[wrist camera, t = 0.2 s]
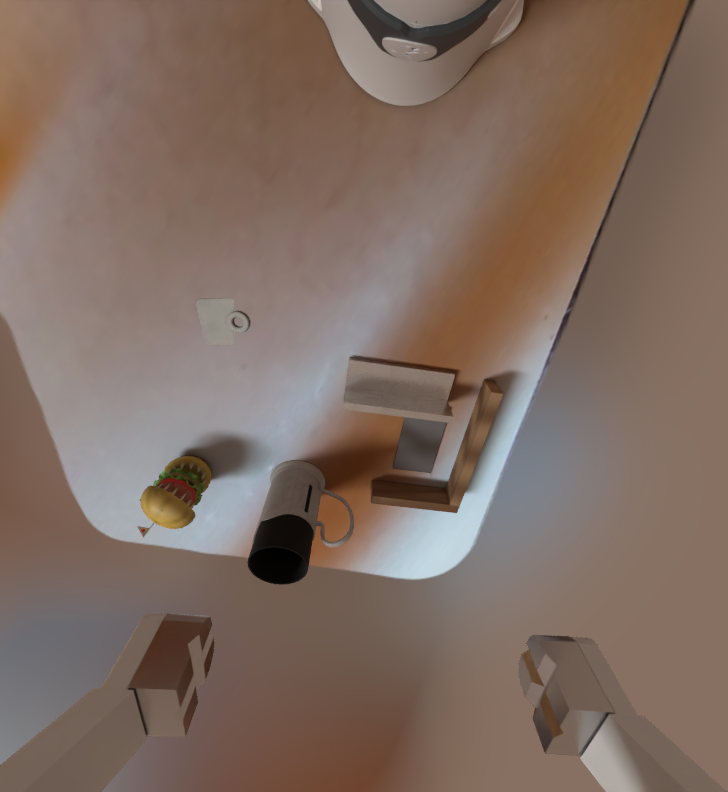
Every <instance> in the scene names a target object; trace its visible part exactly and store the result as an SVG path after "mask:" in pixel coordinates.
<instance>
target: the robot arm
mask: <svg viewBox="0 0 728 792" xmlns="http://www.w3.org/2000/svg"><path fill="white" fill-rule="evenodd" d="M307 1H308V2H309V3H310V4H311V6H312V7H313V8H314V9H315V10H316V12H317V13H318V14H319V15H320V16H321V17H322V18H323V20H324V21H325V23H326V25H327V28H328V30H329V32H330V35H331V38H332V40H333V43H334V46H335V48H336V51H337V53H338V55H339V57H340V59H341V61H342V63H343V65H344V66H345V68H346V70H347V71H348V72H349V74H350V75H351V77H352V78H353V79H354V80H355V81H356V82H357V83H358V85H359V86H361V87H362V88H363V89H364V90H365V91H366V92H368V93H369V94H371V95H372V96H374V97H375V98H377V99H379V100H381V101H384V102H387V103H390V104H394V105H400V106H412V105H419V104H423V103H426V102H429V101H431V100H434V99H436V98H438V97H440V96H441V95H443V94H444V93H446V92H447V91H449V90H450V89H451V88H452V87H454V86H455V85H456V84H457V83H458V82H459V81H460V80H461V79H462V78H463V77H464V76H465V74H466V73H467V72H468V71H469V69H470V68H471V67H472V66H473V64H474V63H475V62H476V60H477V59H478V58H479V57H480V56H481V55H482V54H483V53H484V52H485V51H487V50H489V49H490V48H492V47H494V46H496V45H497V44H499V43H501V42H502V41H504V40H505V39H507V38H508V37H509V36H510V35H511V34H512V33H513V32H514V31H515V29H516V28H517V26H518V24H519V22H520V20H521V17H522V12H523V5H524V0H307ZM211 627H212V621H211V617H210V616H195V615H179V614H169V613H152V612H148V613H146V614H145V615H144V617H143V618H142V619H141V620H140V621H139V624H138V625H137V627H136V629H135V630H134V632H133V634H132V635H131V637H130V639H129V641H128V642H127V644H126V646H125V647H124V649H123V651H122V653H121V654H120V656H119V658H118V660H117V661H116V663H115V665H114V666H113V668H112V670H111V672H110V674H109V675H108V677H107V679H106V680H105V682H104V684H103V685H102V687H101V688H93V689H92V690H91V691H90V692H88V693H87V694H86V695H85V696H84V697H82V698H81V699H80V700H79V701H78V702H76V703H75V704H74V705H73V706H72V707H70V708H69V709H68V710H67V711H65V712H64V713H63V714H62V715H61V716H59V717H58V718H57V719H56V720H54V721H53V722H52V723H51V724H50V725H49V726H47V727H46V728H45V729H44V730H42V731H41V732H40V733H39V734H37V735H36V736H35V737H34V738H33V739H31V740H30V741H29V742H28V743H27V744H25V745H24V746H23V747H22V748H20V749H19V750H18V751H17V752H16V753H14V754H13V755H12V756H11V757H10V758H8V759H7V760H6V761H5V762H3V763H2V764H1V765H0V792H102V790H103V789H104V788H105V787H106V786H107V785H108V783H109V782H110V781H111V780H112V779H113V778H114V777H115V775H116V774H117V773H118V772H119V771H120V770H121V769H122V767H123V766H124V765H125V764H126V763H127V762H128V761H129V759H130V758H131V757H132V756H133V755H134V754H135V753H136V751H137V750H138V749H139V748H140V747H141V746H142V744H143V743H144V742H145V741H146V739H147V737H148V736H149V737H186V735H187V732H188V729H189V726H190V723H191V720H192V718H193V715H194V712H195V710H196V707H197V704H198V699H197V691H196V690H197V688H199V687H200V686H201V685H202V684H203V683H204V682H205V681H206V678H207V675H208V672H209V669H210V666H211V662H212V658H213V653H214V637H213V636H212V635H211V634H210V630H211ZM526 644H527V646H528V648H529V650H527V651H526V652H524V653H523V654H522V655H521V657H520V660H519V678H520V683H521V686H522V690H523V693H524V695H525V697H526V699H527V700H528V701H529V702H530V703H531V704H532V705H533V706H534V708H535V710H534V714H533V721H534V724H535V727H536V730H537V733H538V735H539V738H540V741H541V744H542V747H543V750H544V752H545V753H546V754H559V755H571V756H582V757H581V758H580V759H581V760H582V761H583V763H584V764H585V765H586V767H587V768H588V769H589V770H590V772H591V773H592V774H593V776H594V777H595V778H596V779H597V780H598V782H599V783H600V785H601V786H602V787H603V788H604V790H605V791H606V792H727V791H726V790H725V789H724V788H722V787H721V786H720V785H719V784H718V783H717V782H716V781H715V780H714V779H713V778H712V777H710V776H709V775H708V774H707V773H706V772H705V771H704V770H703V769H702V768H701V767H700V766H698V765H697V764H696V763H695V762H694V761H693V760H692V759H691V758H690V757H689V756H688V755H686V754H685V753H684V752H683V751H682V750H681V749H680V748H679V747H678V746H677V745H676V744H674V743H673V742H672V741H671V740H670V739H669V738H668V737H667V736H666V735H665V734H663V733H662V732H661V731H660V730H659V729H658V728H657V727H656V726H655V725H654V724H653V723H652V722H650V721H649V720H648V719H647V718H646V717H645V716H643V715H638V714H637V713H636V711H635V709H634V708H633V706H632V704H631V702H630V701H629V699H628V697H627V695H626V694H625V692H624V690H623V688H622V687H621V685H620V683H619V682H618V680H617V678H616V676H615V675H614V673H613V671H612V669H611V668H610V666H609V664H608V663H607V661H606V659H605V657H604V656H603V654H602V652H601V650H600V649H599V647H598V645H597V644H596V643H595V642H594V641H593V640H592V639H590V638H583V637H569V636H546V635H532V636H530V637H529V639H528V641H527V643H526Z"/></svg>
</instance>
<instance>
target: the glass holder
mask: <svg viewBox="0 0 728 792" xmlns="http://www.w3.org/2000/svg"><path fill="white" fill-rule="evenodd" d="M270 480H271V486H270V489H269V492H268V495H267V498H266V501H265V504H264V508H263V511H262V514H261V517H260V520H259V523H258V526H257V529H256V532H255V535H254V539H253V546H252V549H251V552H250V555H249V558H248V567H249V569H250V571H251V572H252V573H253V575H255V576H256V577H257V578H259V579H261V580H263V581H265V582H269V583H273V584H291V583H294V582H297V581H299V580H301V579H302V578H303V577H304V576H305V575H306V574H307V571H308V566H309V559H310V553H311V546H312V541H313V539H314V536H315V529H316V526H321V531H320V533H321V539H322V541H323V543H324V544H325V545H327V546H329V547H337V546H340V545H342V544H344V543H345V542H346V541H348V540H349V539H350V537H351V535H352V533H353V528H354V518H353V514H352V510H351V508H350V507H349V505H348V503H347V502H346V500H345V499H344V498H342V497H340V496H339V495H337V494H335V493H333V492H330V491H328V490H326V489H324V487H325V478H324V476H323V474H322V472H321V471H320V470H319V469H318V468H317V467H315V466H314V465H312V464H310V463H307V462H304V461H297V460H294V461H287V462H284V463H281V464H279V465H278V466H277V467H275V469H274V470H273V471H272V474H271V478H270ZM322 492H324V493H325V494H327V495H330V496H332V497H334V498H336V499H338V500H340V501H341V502H343V503H344V505H345V506H346V507H347V509H348V511H349V515H350V528H349V531H348V533H347V535H346V536H345V537H343V538H342V539H340V540H338V541H336V542H328V541H326V540H325V537H324V531H325V527H324V525H323V523H322V522H321V521H317V516H318V510H319V503H320V496H321V493H322Z"/></svg>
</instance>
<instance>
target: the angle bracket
mask: <svg viewBox="0 0 728 792" xmlns="http://www.w3.org/2000/svg"><path fill="white" fill-rule="evenodd" d="M454 377H455V373H454V372H452V371H444V370H437V369H430V368H423V367H416V366H408V365H401V364H394V363H387V362H380V361H372V360H365V359H358V358H351V357H349V364H348V371H347V378H346V385H345V393H344V402H343V409H346V410H354V411H362V412H369V413H377V414H385V415H393V416H400V417H408V418H416V419H423V420H431V421H439V422H446V423H451V422H452V419H453V414H452V412H451V409H450V406H449V403H448V401H447V400H448V397H449V394H450V390H451V387H452V384H453V381H454Z"/></svg>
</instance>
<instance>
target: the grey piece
mask: <svg viewBox="0 0 728 792" xmlns="http://www.w3.org/2000/svg"><path fill="white" fill-rule="evenodd" d="M196 307H197V311H198V315H199V319H200V323H201V327H202V331H203V335H204V338H205V341H206V342H207V343H208V344H210V345H234V331H235V332H239V333H241V332H245V331H246V330H248V328H249V326H250V321H249V319H248V317H247V316H246V315H245V314H244V313H242V312H240V311H234V298H230V299H199V300H198V301H197V303H196ZM235 317H240V318H241V319H242V320H243V322H244V325H243V326H242V327H236V326H235V325H234V318H235Z"/></svg>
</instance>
